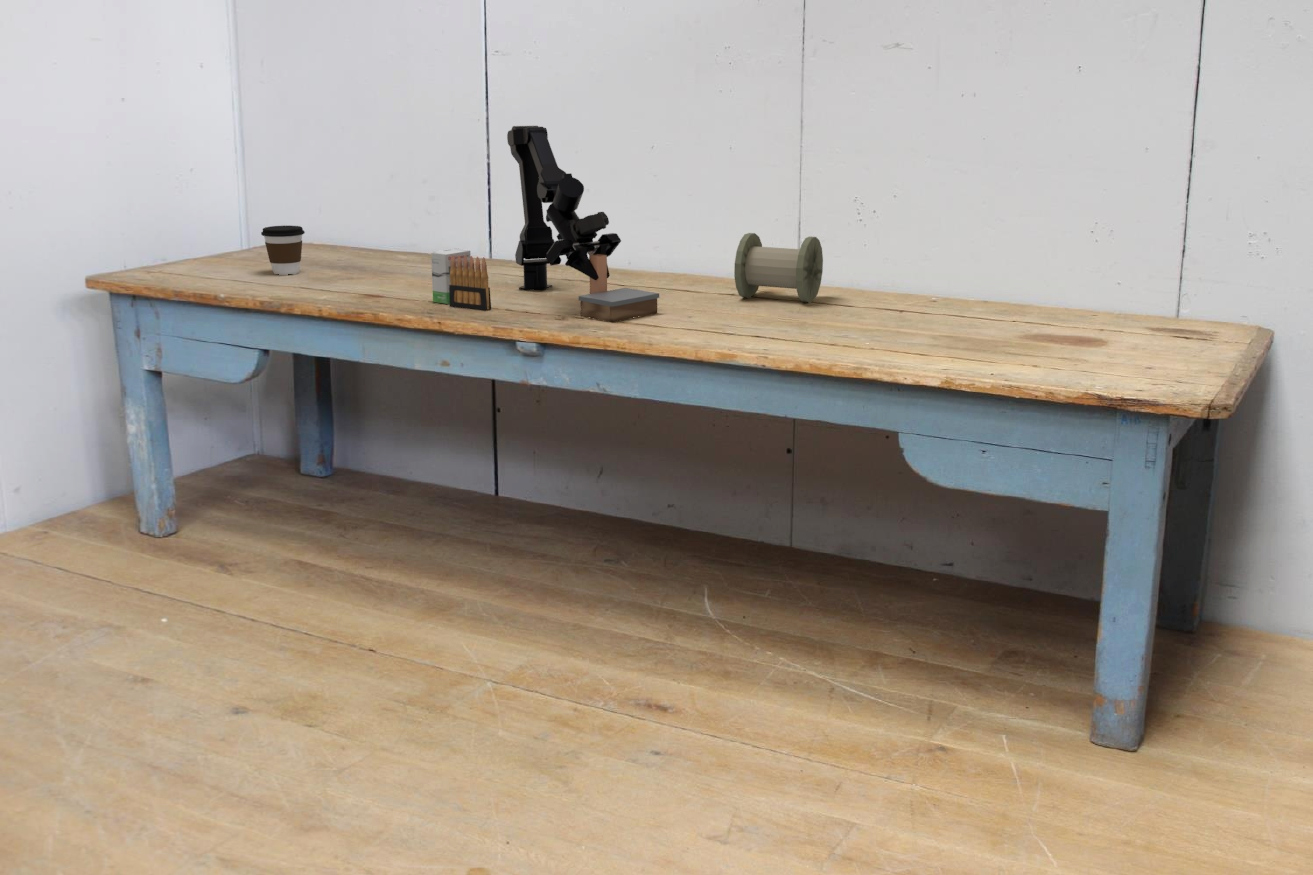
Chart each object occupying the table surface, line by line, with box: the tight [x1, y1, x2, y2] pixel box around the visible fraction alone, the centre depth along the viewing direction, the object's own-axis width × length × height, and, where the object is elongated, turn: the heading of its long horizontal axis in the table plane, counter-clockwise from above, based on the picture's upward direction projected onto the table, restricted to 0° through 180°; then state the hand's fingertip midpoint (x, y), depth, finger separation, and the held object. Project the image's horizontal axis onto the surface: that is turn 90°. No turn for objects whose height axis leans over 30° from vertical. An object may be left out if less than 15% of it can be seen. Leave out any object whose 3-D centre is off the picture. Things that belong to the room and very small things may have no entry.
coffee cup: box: [261, 225, 306, 276], centre depth 340 cm, size 11×11×12 cm
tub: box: [579, 298, 658, 323], centre depth 286 cm, size 10×14×4 cm
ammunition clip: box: [448, 254, 492, 312], centre depth 293 cm, size 11×2×12 cm, turn 60°
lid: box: [578, 254, 660, 307], centre depth 285 cm, size 13×15×9 cm
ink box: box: [430, 248, 471, 305], centre depth 302 cm, size 9×5×12 cm, turn 144°
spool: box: [733, 232, 824, 304], centre depth 303 cm, size 16×15×15 cm
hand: (602, 278), depth 288 cm, fingers closed on lid, 3 cm apart
